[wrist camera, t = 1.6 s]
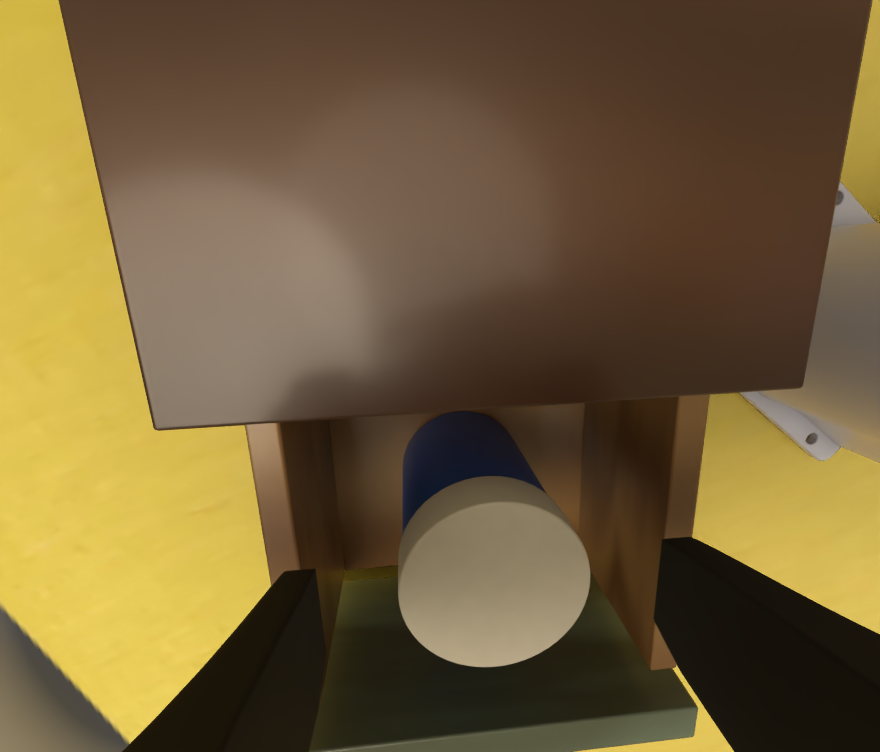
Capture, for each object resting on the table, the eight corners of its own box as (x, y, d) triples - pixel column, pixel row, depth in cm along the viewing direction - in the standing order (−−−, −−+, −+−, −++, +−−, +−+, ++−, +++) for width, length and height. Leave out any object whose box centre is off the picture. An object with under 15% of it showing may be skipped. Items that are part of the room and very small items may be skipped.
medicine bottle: (544, 452, 17) (630, 567, 10) (470, 539, 17) (508, 696, 11) (450, 383, 16) (482, 464, 9) (375, 478, 16) (357, 613, 10)
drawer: (593, 659, 21) (679, 841, 14) (330, 688, 20) (295, 894, 14) (617, 273, 16) (761, 281, 10) (276, 288, 15) (184, 307, 9)
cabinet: (617, 329, 18) (804, 389, 10) (275, 348, 17) (152, 432, 9) (646, -122, 14) (998, -675, 6) (208, -131, 13) (-125, -804, 5)
